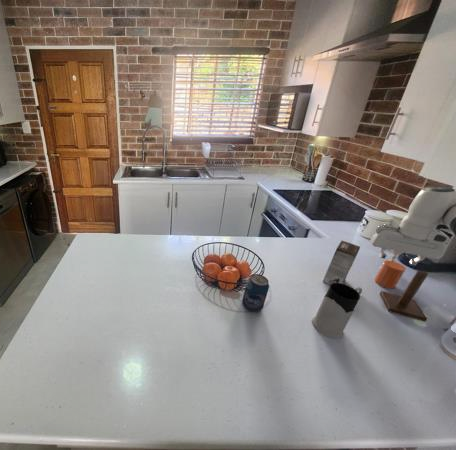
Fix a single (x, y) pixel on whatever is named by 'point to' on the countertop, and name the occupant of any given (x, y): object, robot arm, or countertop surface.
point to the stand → (406, 299)
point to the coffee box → (341, 263)
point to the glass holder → (336, 309)
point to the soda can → (255, 293)
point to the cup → (389, 274)
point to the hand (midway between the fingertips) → (396, 260)
